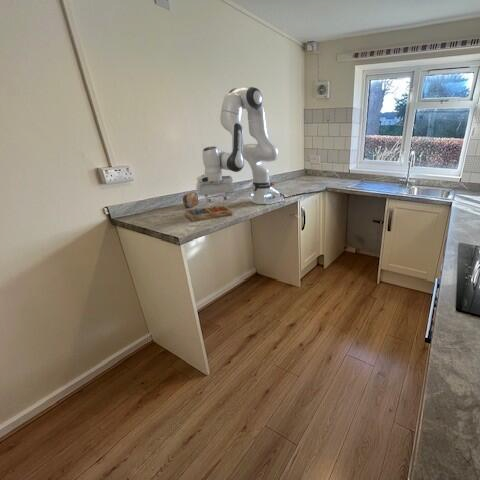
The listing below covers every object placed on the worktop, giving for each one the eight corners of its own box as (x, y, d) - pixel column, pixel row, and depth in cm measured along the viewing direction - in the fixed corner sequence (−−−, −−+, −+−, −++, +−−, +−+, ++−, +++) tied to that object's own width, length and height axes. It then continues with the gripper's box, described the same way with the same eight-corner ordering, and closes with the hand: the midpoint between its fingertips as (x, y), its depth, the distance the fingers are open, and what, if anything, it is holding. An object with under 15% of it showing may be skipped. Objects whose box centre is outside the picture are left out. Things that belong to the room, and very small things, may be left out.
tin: (188, 209, 162) (186, 195, 159) (183, 208, 162) (181, 195, 159) (199, 203, 176) (197, 191, 173) (194, 203, 176) (192, 190, 173)
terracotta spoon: (212, 211, 157) (211, 206, 156) (218, 210, 159) (217, 205, 158) (218, 215, 150) (217, 210, 148) (224, 214, 152) (223, 209, 151)
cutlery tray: (223, 209, 163) (223, 205, 162) (232, 215, 153) (231, 210, 152) (185, 215, 150) (185, 210, 149) (192, 221, 140) (191, 216, 139)
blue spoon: (193, 213, 151) (193, 208, 150) (200, 212, 153) (199, 207, 152) (198, 217, 143) (197, 212, 142) (205, 216, 146) (204, 211, 144)
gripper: (229, 174, 155) (232, 197, 161) (193, 177, 144) (197, 202, 149) (233, 176, 151) (236, 199, 156) (196, 179, 139) (201, 204, 145)
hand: (217, 200), depth 153 cm, fingers open, 8 cm apart
